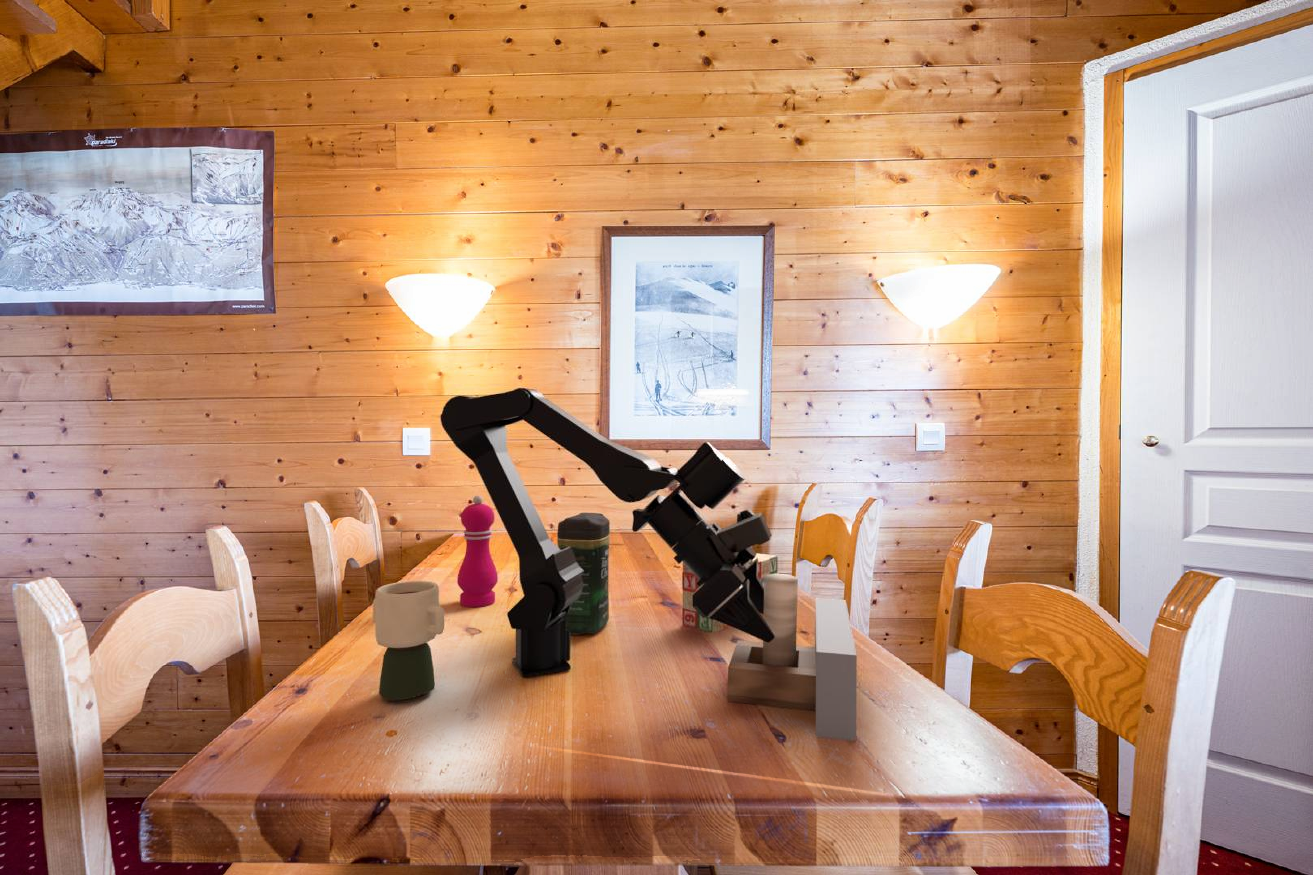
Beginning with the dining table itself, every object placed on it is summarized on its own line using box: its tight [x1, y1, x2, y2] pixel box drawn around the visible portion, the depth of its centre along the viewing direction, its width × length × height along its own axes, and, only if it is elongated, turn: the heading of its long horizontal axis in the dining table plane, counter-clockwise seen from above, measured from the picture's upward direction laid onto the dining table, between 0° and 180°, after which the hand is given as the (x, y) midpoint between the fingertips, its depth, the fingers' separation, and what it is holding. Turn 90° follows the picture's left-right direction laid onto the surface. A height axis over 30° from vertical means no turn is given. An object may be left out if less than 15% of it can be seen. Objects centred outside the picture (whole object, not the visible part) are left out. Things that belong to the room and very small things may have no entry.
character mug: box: [372, 580, 445, 701], centre depth 75 cm, size 11×7×13 cm, turn 66°
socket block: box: [727, 639, 816, 712], centre depth 77 cm, size 10×10×4 cm
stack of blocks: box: [681, 546, 779, 633], centre depth 109 cm, size 21×6×12 cm, turn 140°
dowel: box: [762, 573, 799, 668], centre depth 77 cm, size 4×4×13 cm
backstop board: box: [814, 597, 858, 742], centre depth 75 cm, size 4×22×9 cm, turn 166°
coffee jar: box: [556, 512, 611, 636], centre depth 102 cm, size 10×8×19 cm
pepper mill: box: [456, 494, 499, 608], centre depth 116 cm, size 7×7×20 cm
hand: (774, 627), depth 77 cm, fingers open, 9 cm apart
